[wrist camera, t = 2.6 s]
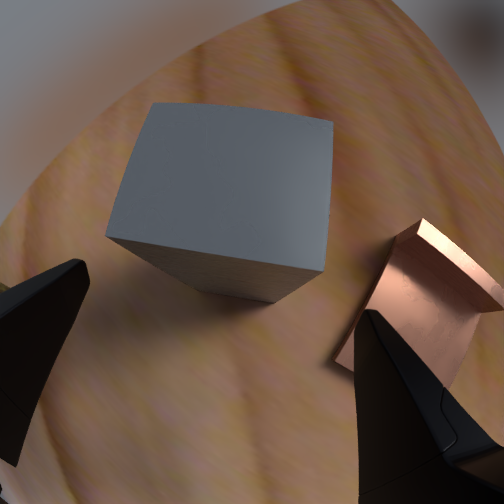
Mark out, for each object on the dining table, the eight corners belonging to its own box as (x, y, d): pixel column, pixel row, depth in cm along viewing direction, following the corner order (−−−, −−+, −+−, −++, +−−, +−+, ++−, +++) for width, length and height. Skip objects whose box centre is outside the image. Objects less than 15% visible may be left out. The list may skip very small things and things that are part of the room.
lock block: (274, 303, 18) (323, 271, 6) (197, 290, 18) (104, 235, 6) (283, 242, 19) (333, 121, 7) (209, 231, 19) (152, 102, 7)
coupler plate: (429, 412, 16) (457, 424, 12) (331, 359, 17) (350, 368, 14) (479, 300, 18) (509, 295, 14) (396, 235, 19) (422, 218, 15)
